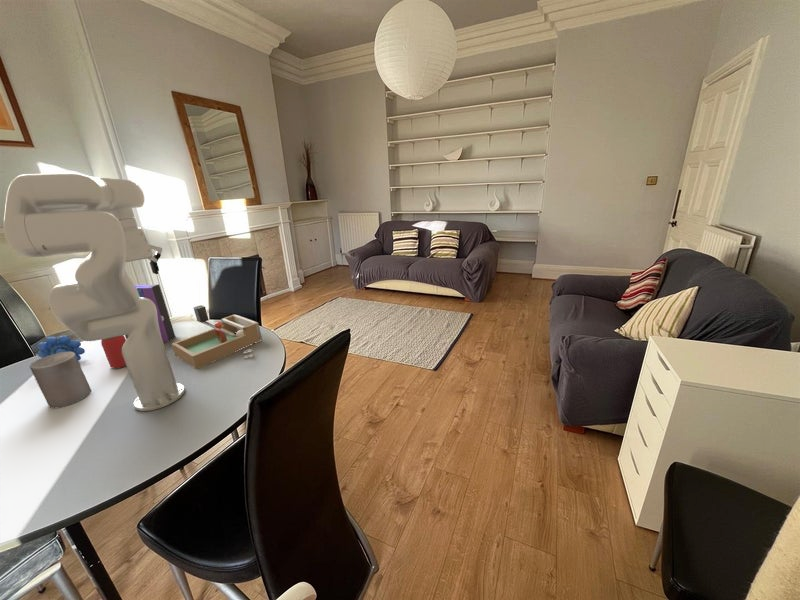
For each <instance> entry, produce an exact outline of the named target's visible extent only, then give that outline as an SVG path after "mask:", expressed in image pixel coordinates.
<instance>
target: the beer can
mask: <svg viewBox="0 0 800 600" xmlns="http://www.w3.org/2000/svg"><path fill="white" fill-rule="evenodd" d="M125 341H126V337H125V335H122V336H116V337H111V338H106V339H102V340H100V343H101V346H102V349H103V351H104V352H103V353H104V354H105V357H106V359H107V362H108V365H109V367H110V368H111V369H115V368H116V369H121V367H122V368H125V367H127V366H126V363H125V361H124V358H123V355H122V347H123V344H124V343H125Z"/></svg>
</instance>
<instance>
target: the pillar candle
mask: <svg viewBox="0 0 800 600" xmlns="http://www.w3.org/2000/svg"><path fill="white" fill-rule="evenodd" d="M29 369H30V371H31V373H32V374H33V377H34V379H35V381H36V383H37V385H38V387H39V390H40V391H41V393H42V396H43V397H44V398H45V399H44V400H45V401H46V403H47V405H48V407H49V406H50V407H49V408H51V407H54V408H53V409H56V408H55V407H59V408H63V406H64V407H67V406H71V405H73V404H76V403H79V402H80V401H81V400H83V399H85V398H86V397H87V395H88V396H89V395H90V394H91V393H90V392H92V389H91V387H90V385H89V382H88V380H87V377H86V375H85V374H84V372H83V369H82V366H81V364H80V361H78V360H77V357H76V355H75V353H74V352H61V353H56V354H52V355H49V356H46V357H43V358H41V357H40V358H39V359H37V360H35V361H33V362H31V364H30V365H29ZM89 393H90V394H89Z"/></svg>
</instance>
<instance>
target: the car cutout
mask: <svg viewBox="0 0 800 600" xmlns="http://www.w3.org/2000/svg"><path fill="white" fill-rule="evenodd" d="M246 346H247V345H246ZM252 350H253V348H251V349H250V348H249V349H248V348H246V350H244V351H243V354H244V353H245V352H248V351H252ZM251 356H254V354H252V353H251V354H250V353H247V355H246V354H245V355H244V357H243V359H244V358H247V357H251ZM251 358H252V357H251ZM247 359H248V358H247Z"/></svg>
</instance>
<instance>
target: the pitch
mask: <svg viewBox="0 0 800 600" xmlns="http://www.w3.org/2000/svg"><path fill="white" fill-rule="evenodd" d="M220 320H221V321H220V322H221V323H222V327H221V328H223V329H225V330H227V331H229V332H232V333H235V332H237V331H239V330H243V332H244V335H242V336H239V337H236V336H235V337H232V336H230V335H228V334H226V333H225V334H226V338H227V341H225V342H220V341H218V338H217V334H216V331H215V329H214V328H211V329H208V330H205V331H203V332H200V333H198V334H195V335H191V336H189V337H187V338H183V339H181V340H179V341H174V342H172V343H171V347H172V351H173V353H174V356H175V357H177V358H178V357H179V358H178V359H179V360H181V359H182V361H183V362H185V363H186V364H187V365H189V366H191V367H192V366H193V367H192V368H194V369H196V370H198V369H200V368H202V367H205V366H206V364H207V365H209V364H212V363H213V361H214V362H216V361H218V359H219V360H221V359H223V358H225V357H224V356H226V355H228V356H230V355H232V354H231V353H233V352H235V351H237V350H239V349H241V348H243V347H246V345H247V346H248V345H250V344H253V343H255V342H258V341H260V340H262V341H263V338H262V333H261V329H260V324H259V323H260V322H257V321H255V320H252V319H249V318H247V317H244V316H241V315H239V314H238V315H237V314H232V315H229V316H225V317H223V318H220ZM258 343H259V342H258ZM237 352H238V351H237ZM235 353H236V352H235ZM229 354H230V355H229ZM233 354H234V353H233ZM222 357H223V358H222ZM226 357H227V356H226ZM220 358H221V359H220ZM215 360H216V361H215ZM211 362H212V363H211ZM204 365H205V366H204Z"/></svg>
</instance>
